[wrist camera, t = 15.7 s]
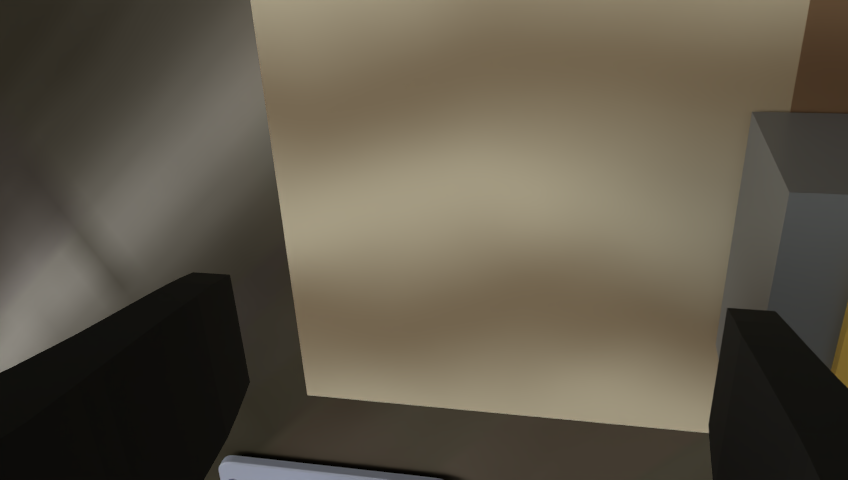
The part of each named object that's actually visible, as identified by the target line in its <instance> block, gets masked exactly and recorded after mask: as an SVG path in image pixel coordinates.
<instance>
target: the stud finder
mask: <svg viewBox="0 0 848 480" xmlns="http://www.w3.org/2000/svg"><path fill="white" fill-rule="evenodd" d="M727 308H737V309H752V310H767V311H776V312H777V313H778V314H779V315H780V316H781V318H782V319H783V320H784V321H785V322H786V323H787V324H788V325H789V326H790V327H791V328H792V329H793V331H794V332H795V333H796V334H797V335H798V336H799V337H800V338H801V339H802V340H803V341H804V342H805V344H806V345H807V346H808V347H809V348H810V349H811V350H812V351H813V352H814V353H815V354H816V355H817V357H818V358H819V359H820V360H821V361H822V362H823V363H824V364H825V365H826V366H827V367H828V368H829V369H830V370H831V371H832V372H833V373H834V374H835V375H836V377H837V378H838V379H839V380H840V381H841V382H842V383H843V384H844V385H845V386H846V387H847V388H848V114H837V113H792V112H752V115H751V121H750V128H749V134H748V140H747V147H746V153H745V159H744V166H743V172H742V179H741V185H740V191H739V198H738V204H737V211H736V217H735V223H734V230H733V236H732V242H731V249H730V255H729V262H728V268H727V274H726V281H725V287H724V294H723V300H722V306H721V313H720V319H719V325H718V332H717V338H716V349H717V354H718V359H719V356H720V349H721V343H722V337H723V331H724V325H725V318H726V312H727Z"/></svg>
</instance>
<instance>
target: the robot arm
mask: <svg viewBox="0 0 848 480" xmlns="http://www.w3.org/2000/svg"><path fill="white" fill-rule="evenodd" d="M249 383H250V381H249V375H248V370H247V365H246V359H245V354H244V349H243V343H242V338H241V332H240V327H239V322H238V316H237V311H236V305H235V300H234V295H233V289H232V284H231V279H230V275H224V274H209V273H194V272H193V273H191V274H188V275H186V276H184V277H181V278H179V279H177V280H175V281H173V282H171V283H169V284H167V285H165V286H163V287H161V288H160V289H158V290H156V291H154V292H152V293H150V294H148V295H147V296H145V297H143V298H141V299H139V300H138V301H136V302H134V303H132V304H130V305H129V306H127V307H125V308H123V309H121V310H120V311H118V312H116V313H114V314H112V315H111V316H109V317H107V318H105V319H103V320H101V321H100V322H98V323H96V324H94V325H92V326H91V327H89V328H87V329H85V330H83V331H82V332H80V333H78V334H76V335H74V336H72V337H70V338H68V339H66V340H64V341H63V342H61V343H59V344H57V345H55V346H53V347H51V348H49V349H47V350H45V351H43V352H41V353H39V354H37V355H35V356H33V357H31V358H29V359H27V360H25V361H23V362H21V363H19V364H17V365H16V366H14V367H12V368H9V369H7V370H5V371H3V372H1V373H0V480H204V478H205V477H206V475H207V473H208V471H209V470H210V468H211V466H212V464H213V463H214V461H215V459H216V457H217V456H218V454H219V452H220V450H221V449H222V447H223V445H224V443H225V441H226V439H227V438H228V435H229V433H230V430H231V428H232V426H233V423H234V421H235V419H236V416H237V414H238V412H239V409H240V406H241V404H242V401H243V399H244V396H245V393H246V391H247V388H248V385H249ZM708 426H709V439H710V451H711V463H712V474H713V480H848V388H847V387H846V386H845V385H844V384H843V383H842V382H841V381H840V380H839V379H838V378H837V377H836V375H835V374H834V373H833V372H832V371H831V370H830V369H829V368H828V367H827V366H826V365H825V364H824V363H823V362H822V361H821V360H820V359H819V358H818V357H817V355H816V354H815V353H814V352H813V351H812V350H811V349H810V348H809V347H808V346H807V345H806V344H805V342H804V341H803V340H802V339H801V338H800V337H799V336H798V335H797V334H796V333H795V332H794V331H793V329H792V328H791V327H790V326H789V325H788V324H787V323H786V322H785V321H784V320H783V319H782V318H781V316H780V315H779V314H778V313H777V312H776V311H767V310H752V309H737V308H727V312H726V318H725V325H724V331H723V337H722V343H721V349H720V356H719V362H718V368H717V374H716V381H715V387H714V393H713V399H712V405H711V412H710V418H709V424H708ZM219 474H220V479H221V480H444V479H440V478H433V477H424V476H415V475H406V474H397V473H388V472H379V471H370V470H362V469H353V468H344V467H335V466H326V465H317V464H308V463H299V462H290V461H281V460H272V459H263V458H254V457H245V456H236V455H229V456H227V457H225V458H224V459H223V461H222V462H221V464H220V466H219Z"/></svg>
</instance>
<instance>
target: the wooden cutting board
mask: <svg viewBox="0 0 848 480" xmlns="http://www.w3.org/2000/svg"><path fill="white" fill-rule="evenodd" d="M250 1H251V8H252V15H253V21H254V28H255V35H256V42H257V49H258V56H259V63H260V70H261V77H262V84H263V91H264V98H265V105H266V111H267V118H268V125H269V132H270V139H271V146H272V153H273V160H274V167H275V174H276V181H277V188H278V195H279V201H280V208H281V215H282V222H283V229H284V236H285V243H286V250H287V257H288V264H289V271H290V278H291V284H292V291H293V298H294V305H295V312H296V319H297V326H298V333H299V340H300V347H301V354H302V361H303V368H304V374H305V381H306V388H307V395H312V396H323V397H333V398H344V399H355V400H365V401H376V402H386V403H397V404H407V405H418V406H428V407H439V408H450V409H460V410H471V411H481V412H492V413H502V414H513V415H523V416H534V417H545V418H555V419H566V420H576V421H587V422H597V423H608V424H618V425H629V426H640V427H650V428H661V429H671V430H682V431H692V432H703V433H709V426H708V424H709V418H710V412H711V405H712V399H713V393H714V387H715V381H716V374H717V368H718V362H719V359H718V354H717V349H716V338H717V332H718V325H719V319H720V313H721V306H722V300H723V294H724V287H725V281H726V274H727V268H728V262H729V255H730V249H731V242H732V236H733V230H734V223H735V217H736V211H737V204H738V198H739V191H740V185H741V179H742V172H743V166H744V159H745V153H746V147H747V140H748V134H749V128H750V121H751V115H752V112H792V113H837V114H848V0H250Z"/></svg>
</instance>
